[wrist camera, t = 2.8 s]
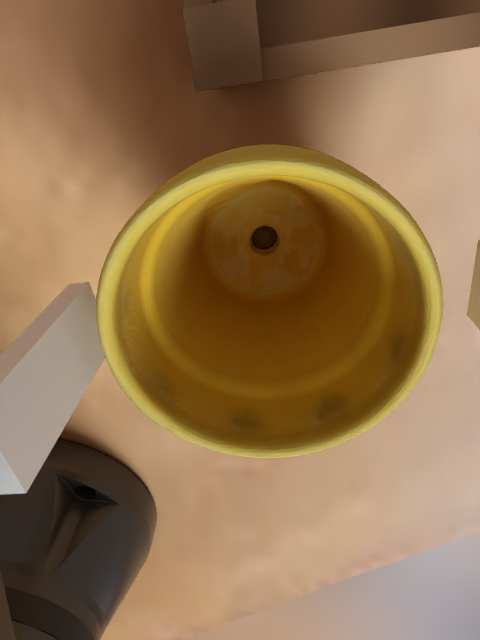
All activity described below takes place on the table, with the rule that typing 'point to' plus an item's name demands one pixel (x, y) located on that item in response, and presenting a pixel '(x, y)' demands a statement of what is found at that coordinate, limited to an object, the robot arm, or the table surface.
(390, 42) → the walnut crate
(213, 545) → the table surface
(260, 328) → the plant pot
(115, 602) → the robot arm
